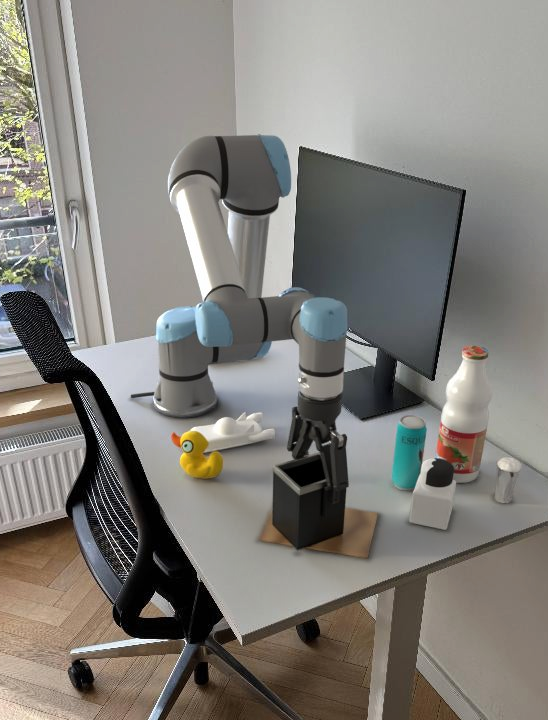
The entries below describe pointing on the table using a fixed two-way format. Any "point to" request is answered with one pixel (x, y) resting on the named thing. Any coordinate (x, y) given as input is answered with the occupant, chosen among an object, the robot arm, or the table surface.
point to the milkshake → (506, 478)
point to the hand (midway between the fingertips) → (314, 501)
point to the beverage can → (408, 452)
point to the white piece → (234, 432)
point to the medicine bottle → (433, 494)
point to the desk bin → (304, 502)
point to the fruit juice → (466, 416)
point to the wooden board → (348, 543)
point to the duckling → (197, 455)
